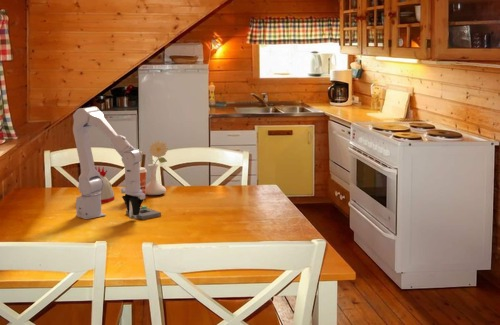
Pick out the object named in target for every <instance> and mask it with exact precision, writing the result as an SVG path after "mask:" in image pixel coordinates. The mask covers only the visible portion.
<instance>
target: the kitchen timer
mask: <svg viewBox="0 0 500 325" xmlns="http://www.w3.org/2000/svg"><path fill="white" fill-rule="evenodd" d="M95 169H96V170H97V171H98V172H99V173H100V176H101V178H102V179H103V182H104V187H103V189H102V190H101V204H106V203H111V202H113V201H115V193H114V188H113V187H112V183H111V182H110V180H109V179H108V178H107V177H106V175H107V172H108V170H107V169H106V170H105V168H104V166H103V167H102V168H100V166H98V169H97V166H95Z"/></svg>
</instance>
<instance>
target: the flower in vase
mask: <svg viewBox="0 0 500 325" xmlns="http://www.w3.org/2000/svg"><path fill="white" fill-rule="evenodd" d="M148 150H149V153H150V156H152V157H154V158H155V157H156V161H155V160H153V159H151V158H149V157H147V158H148V160H150V161H152V162H154V163H149V164H147V166H148V168H149V171H150V181H149V182H148V183H146V189H145V196H146V195H147V196H148V195H149V196H159V195H162V194H165V193H166V192H167V189H166V187H165V186H164V185H163V184H161V183H160V182H158V181H157V170H158V167H159V163H161V164H163V163H166V162H167V163H168V160H167V159H166V158H165V157H163V156H166V153H168V146H167V144H166V142H163V141H160V140H158V141H154V142H153V143H151V145H150V147H149V149H148ZM158 161H159V163H157V162H158Z"/></svg>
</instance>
